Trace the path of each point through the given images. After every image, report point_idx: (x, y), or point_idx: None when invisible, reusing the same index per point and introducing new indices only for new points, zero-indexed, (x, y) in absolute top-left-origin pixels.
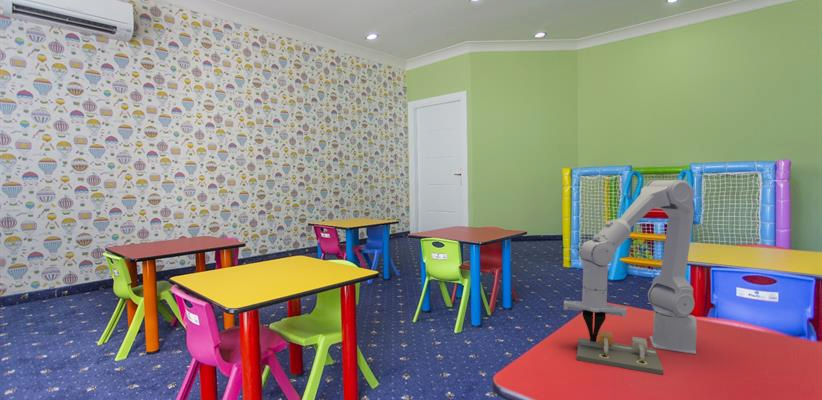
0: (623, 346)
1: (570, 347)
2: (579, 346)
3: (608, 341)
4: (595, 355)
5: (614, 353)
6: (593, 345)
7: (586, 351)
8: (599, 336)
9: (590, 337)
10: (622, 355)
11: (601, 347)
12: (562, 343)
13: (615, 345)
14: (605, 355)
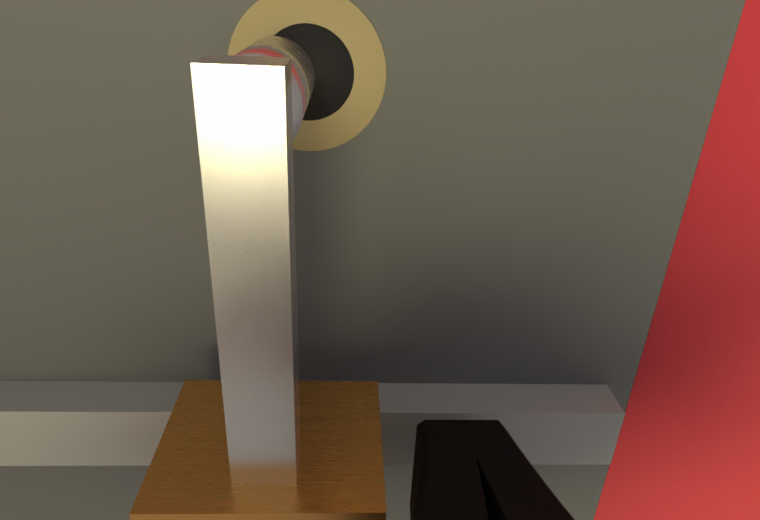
0: (43, 464)
1: (686, 354)
2: (630, 316)
3: (224, 432)
4: (443, 50)
5: (159, 258)
6: (440, 392)
7: (562, 173)
8: (376, 484)
9: (520, 455)
10: (42, 229)
11: None
12: (751, 426)
13: (149, 457)
14: (282, 38)
